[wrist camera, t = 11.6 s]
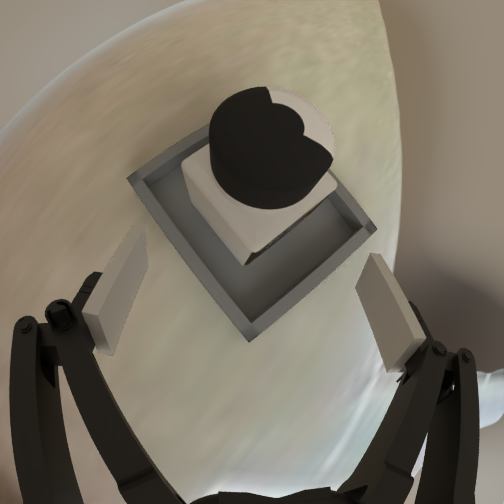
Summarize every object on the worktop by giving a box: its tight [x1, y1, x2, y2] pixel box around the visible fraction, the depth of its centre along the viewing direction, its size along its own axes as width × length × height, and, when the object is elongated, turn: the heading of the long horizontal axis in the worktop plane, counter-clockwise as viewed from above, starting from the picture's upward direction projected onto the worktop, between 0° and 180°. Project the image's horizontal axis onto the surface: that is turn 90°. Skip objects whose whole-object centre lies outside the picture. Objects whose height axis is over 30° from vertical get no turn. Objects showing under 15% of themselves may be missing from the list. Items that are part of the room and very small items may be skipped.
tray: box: [127, 123, 377, 342], centre depth 23 cm, size 16×14×2 cm
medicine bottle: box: [181, 87, 337, 266], centre depth 17 cm, size 7×7×12 cm
